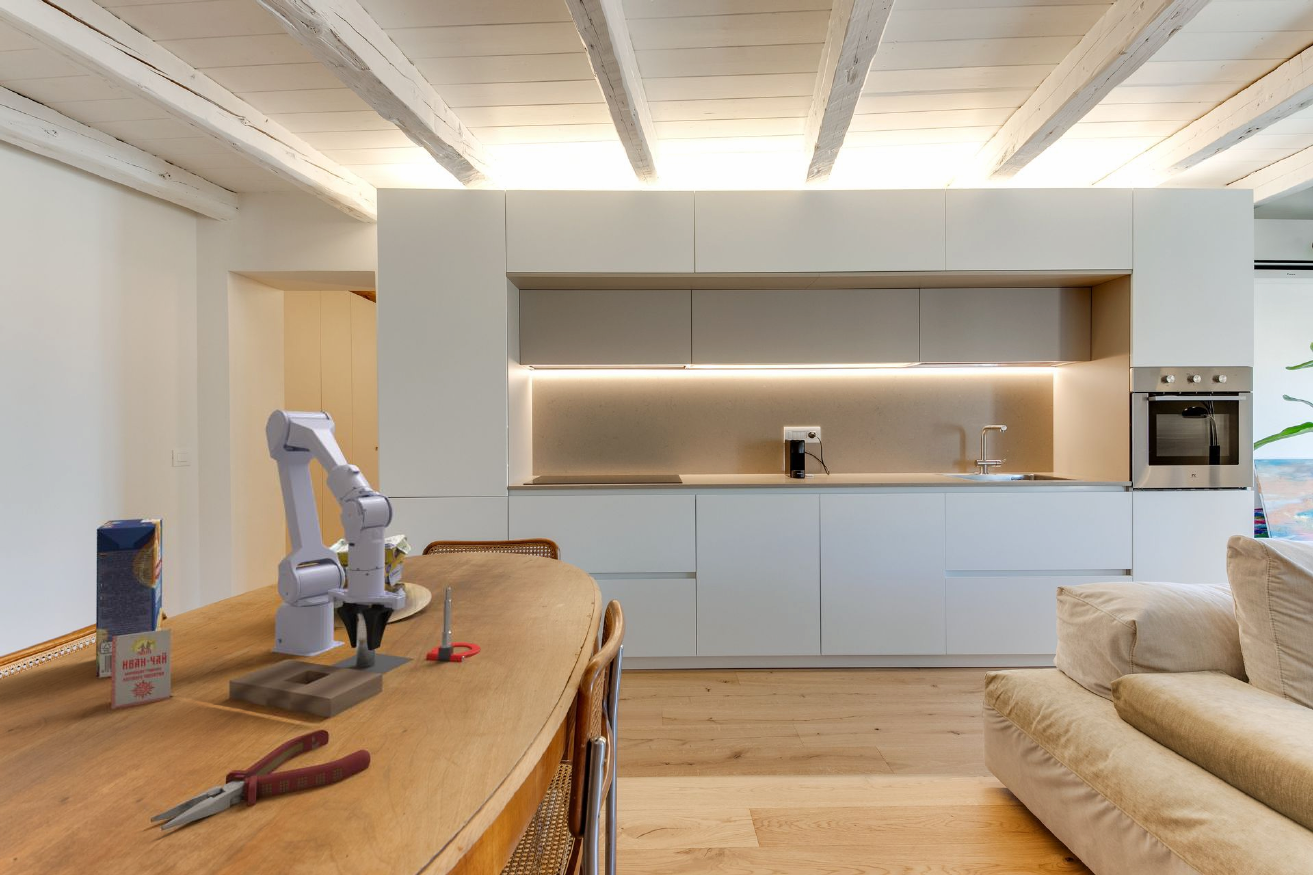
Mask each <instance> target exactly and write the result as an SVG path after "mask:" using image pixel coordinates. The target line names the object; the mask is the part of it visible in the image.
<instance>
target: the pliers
mask: <svg viewBox="0 0 1313 875" xmlns="http://www.w3.org/2000/svg"><path fill="white" fill-rule="evenodd" d="M329 739H330V735H329V732H328V731H327V730H326V729H317V730H313V731H311V732H308V733H305V734H302V735H300V736H297V737H294V738H292V739H289V740H288V741H286V742H284V743H282V744H281V745H279V746H278V747H276V748H275V749H273V750H272V751H271V752H269V753H268V754H266V755H265V756H263V757H262V758H260V759H259V760H258V761H257V762H255V763H254V764H252V765H251V766H249V767H248V768H247V769H246V770H242V769H241V770H240V769H234V770H232V771H230V772H229V773H228V774H227V775H226V777H225V785H223V786H222V785H221V784H220V785H217V786H214V787H211V788H209V789H207V790H205V791H203V792H201V793H199V794H196V795H195V796H193V797H191V798H189V799H187V800H185V801H183V802H181V803H179V804H177V805H175V806H173V807H171V808H169V809H167V810H165V811H163V812H161V813H159V814H157V815H155V816H153V817H152V818H150V823H155V822H159V821H165V820H169V819H172V818H173V819H172V820H170V821H169V822H167V823H165V824H164V825H162V826H161V827H160V828H161V830H160V831H161V832H162V831H165V830H168V829H169V830H170V829H171V828H175V827H179V826H180V825H184V824H187V823H190V822H193V821H197V820H200V819H202V818H206V817H208V816H211V815H214V814H218V813H220V812H223V811H225V810H227V809H229V808H230V807H231V805H236V804H238V803H241V802H247V803H248V804H247V806H248V807H250V806H255V805H256V803H257V802H256V801H257V800H258V799H261V798H268V797H272V796H277V795H283V794H288V793H291V792H297V791H301V790H307V789H312V788H317V787H322V786H326V785H330V784H333V783H337V782H339V781H342V780H345V779H346V778H349V777H351V776H352V775H355V774H357V773H359V772H362V771H363V770H366V769H367V768H369V767H370V763H371V760H372V759H371V754H370V752H369V751H367V750H366V749H359V750H357V751H355V752H353V753H351V754H348V755H345V756H343V757H342V758H339V759H336V760H333V761H329V762H326V763H321V764H317V765H315V764H314V765H311V766H310V765H309V766H305V767H300V768H294V769H290V770H283V771H278V772H275V771H277V769H279V768H280V767H281V766H283V765H284V764H286V763H287V762H288V761H290V760H291V759H294V758H295V757H297V756H299V755H302V754H305V753H307V752H309V751H312V750H314V749H317V748H320V747H323V746H325V745H327V744H328V743H329Z"/></svg>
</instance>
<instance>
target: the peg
mask: <svg viewBox="0 0 1313 875" xmlns="http://www.w3.org/2000/svg"><path fill="white" fill-rule="evenodd" d="M375 653H376V649H374V650H368V646H367V629H366V624H365V620H364V617H363V615H362V611H358V612H357V613H356V648H355V655H356V667H357V668H368V667H372V666H374V665H375Z"/></svg>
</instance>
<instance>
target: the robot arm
mask: <svg viewBox="0 0 1313 875" xmlns="http://www.w3.org/2000/svg"><path fill="white" fill-rule="evenodd" d="M267 419H268V420H267V422H266V425H265V436H266V441H267V446H268V452H269V456H270V458H271V459H273V460H275V461H276V466H277V470H278V471H277V472H278V477H279V483H280V489H281V496H282V500H283V506H284V512H285V517H286V523H287V524H286V525H287V530H288V535H289V542H290V547H291V548H290V549H291V551H290V552H289V553H288V554H287V555H285V557H284V558H283V559H282V560H281V561H280V562H279V563H278V565H277V570H278V571H277V572H278V579H277V591H278V592H277V593H278V594H279V597H280V598H281V600H282V601H283V602H282V603H281V604H280V605H279V606H278V608H277V611H276V612H275V613H276V614H275V620H274V621H275V622H274V625H275V626H274V631H275V632H274V636H275V637H274V648H271V649H270V652H271V653H280V654H286V655H287V654H288V655H295V656H300V657H307V658H312V657H314V656H315V657H316V656H317V655H320V654H323V653H325V652H327V651H331V650H333V649H336V648H338V647H340V646H343V645H345V642H344V641H339V640H334V639H335V638H334V634H335V633H334V631H335V630H334V628H335V627H334V602H335V601H337V602H343V605H342V606H341V607H338V608H337V613H338V615H339V616H340V618H341V619H342V621H343V623H344V625H345V627H344V628H345V631H346V632H347V636H348V639H349V640H348V641H349V643H350V647H351V648H352V649H356V613H357V612H358V611H362V615H363V617H364V620H365V624H366V629H367V646H368V650H374V649H375V650H377V649H379V648H381V643H382V640H383V636H384V633H385V630H386V627H387V624H388V623H389V622H388V620H389V619H390V617H391V615H392V613H393V611H394V610H398V609H401V608H404V607H405V596H403V595H398V594H394V593H391V592H388V591H384V576H385V537H386V528H388V527H389V526H390V524H391V523H392V520H393V515H394V514H393V513H394V511H393V506H392V503H391V501H390V498H389V497H388V496H387V495H385V494H380V493H379V491H374V490H373V488H372V487H371V485H370V483H369V482H368V480H367V479H366V477H365V476H364V474H363V473H362V472H361V470H360V469H359V467H358V466H357V465H354V464H350V463H349V464H348V462H347V460H346V458H345V456H344V454H343V452H342V450H341V449H340V446H339V445H338V444H339V443H338V442H337V441H336V438H335V431H336V424H335V422H334V420H333V418H332V416H331V414H329V412H327V411H324V410H323V411H321V410H320V411H304V410H303V411H302V410H300V411H299V410H297V411H295V410H283V409H275V410H273V411H272V412H271V414H270V415H269V418H267ZM314 459H316V460H317V461H318V463H319V464H320V465H321V467H323V469H324V470H325V471H326V472H327V474H328V475H327V477H326V480H325V483H326V486H327V487H328V489H329V490H330V492H331V494H332V495H333V497H334V499H335V500H336V501H337V503H338V505H339V506H340V508H341V512H340V521H341V525H342V528H343V530H344V538H345V540H346V541H347V542H348V589H343V586H344V583H345V573H344V570H343V568H342V566H341V565H340V562H339V559H338V555H337V553H336V552H335V551H333V550H331V549H329V548H328V547H329V546H326V545H324V544H323V542H324V541H323V537H322V533H321V531H322V530H321V527H320V520H319V516H318V511H317V510H318V509H317V505H316V499H315V498H316V497H315V494H314V487H313V483H312V477H311V476H312V475H311V472H310V471H311V470H310V462H311V461H312V460H314ZM369 605H371V608H369Z"/></svg>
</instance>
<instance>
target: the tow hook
mask: <svg viewBox="0 0 1313 875" xmlns="http://www.w3.org/2000/svg"><path fill="white" fill-rule="evenodd" d="M451 612H452V599H451V587H446V588H445V599H444V600H443V621H442V622H443V623H442V625H443V626H442V627H443V628H442V632H441V645H437V646H435V647H434V648H433V649H432V650H431V652H427V654H426V656H425V657H426V658H425V660H429V661H441V662H442V661H443V662H459V663H460V662H461V663H462V662H464V661H465V660H466V658H470V657H472V656H476V655H477V654H479V653H480V652H481V646H480V645H478V644H475V643H471V642H452V641H451V640H452V632H451V619H452V618H451V615H452V613H451ZM459 647H463V648H469V649H470V650H468V651H464V652H457V653H454V648H459Z"/></svg>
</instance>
